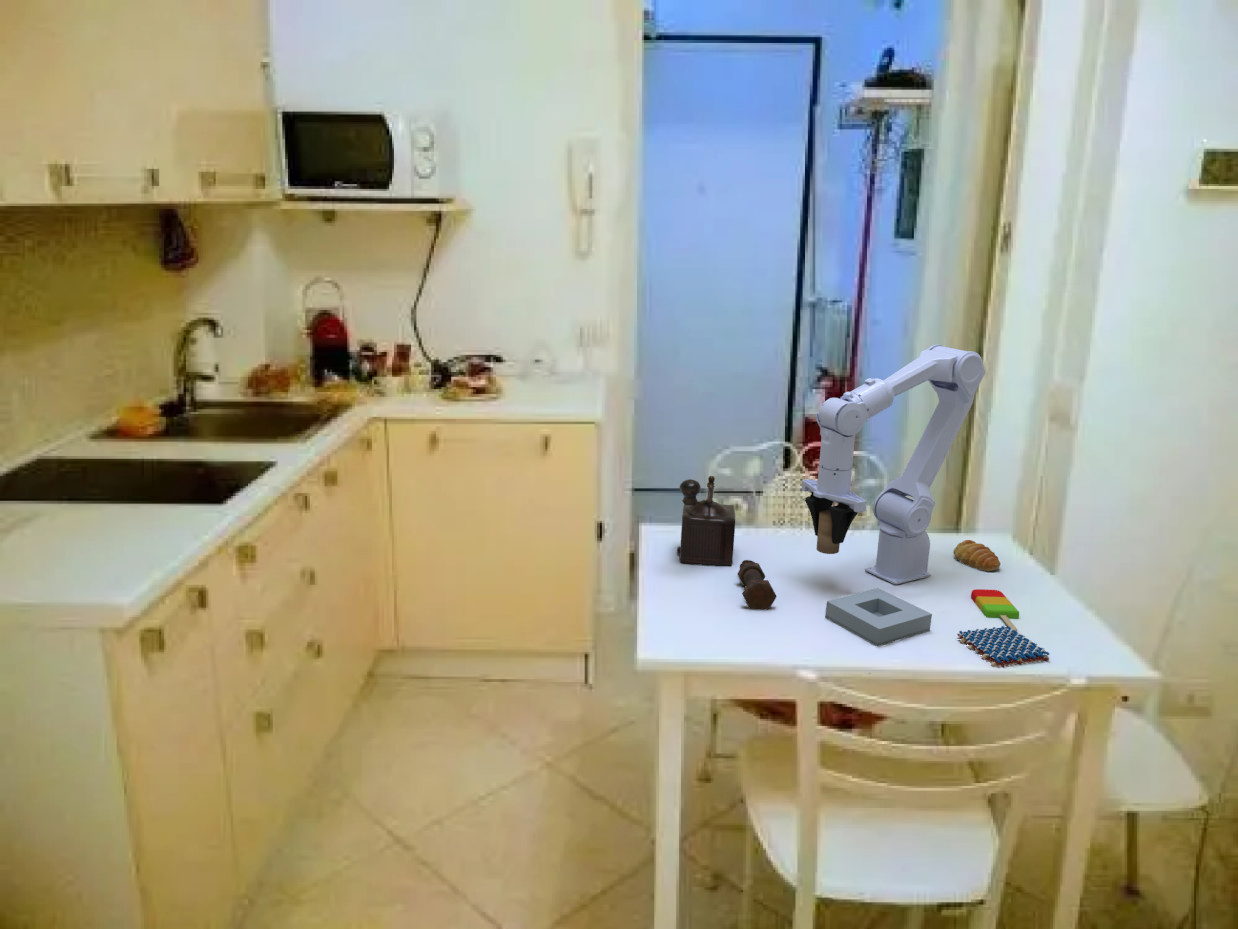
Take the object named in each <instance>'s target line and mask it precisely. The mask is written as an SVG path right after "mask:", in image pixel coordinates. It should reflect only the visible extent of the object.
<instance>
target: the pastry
mask: <svg viewBox="0 0 1238 929" xmlns="http://www.w3.org/2000/svg"><path fill="white" fill-rule="evenodd" d="M952 553H953V556H954V557H955V559H956V561H959V562H960V563H961V564H963V565H965V566H968V567H970V568H973V569H975V570H978V571H985V572H992V571H997V570H999V568H1000V566H1001V562H1000V560H999V557H998V556H997V555H996V554H995V552H994V551H992V550H991V548H989V547H988V546H985V544H983V543H979V542H978V543H976V540H975V541H974V540H972V539H965V540H962V541H961V542H959V543H958V544H957V545H956V547H955V548H954V549H953V552H952Z"/></svg>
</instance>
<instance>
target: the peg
mask: <svg viewBox="0 0 1238 929" xmlns="http://www.w3.org/2000/svg"><path fill="white" fill-rule="evenodd" d="M816 537H817V538H816V539H817V540H816V551H817V552H818V553H822V554H825V555H835V554H838V553H839V552H840V544H841V543H839V544H834V543H832V519H831V514H830V511H829V510H822V511H820V513H819V525H818V536H816Z"/></svg>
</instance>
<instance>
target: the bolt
mask: <svg viewBox="0 0 1238 929" xmlns="http://www.w3.org/2000/svg"><path fill="white" fill-rule="evenodd" d="M737 576H738V579H739V580H740V582H741V584H742V585H743V587H744V590H743V591H742V593H741V594H742V596H743V599H744V601H745V603H746V604H747V606H748V608H749V609H751V610H755V611H762V610H763V611H764V610H765V611H766V610H769V609H770V607H772V605H773V604H774V602H775V600H776V599H777V596H778V595H777V594H776V592H775V590H774V589H773V587H772V585H771V583H770V581H769V580H768V579H765V578H766V575H765V573H764V571H763V569H762V567H761V565H760V564H759V562H755V561H754V560H751V559H750V560H749V559H746V560H745V559H744V560H742V561H741V563H740V564H739V569H738V572H737Z"/></svg>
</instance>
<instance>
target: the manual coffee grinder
mask: <svg viewBox="0 0 1238 929" xmlns="http://www.w3.org/2000/svg"><path fill="white" fill-rule="evenodd" d="M707 479H708V482H707V484H706V487H707V498H706V499H702V500H699V501H698V499H697V495H698V494H699V493H700V492H701V484H700V483H699V481H697V480H695V479H686V480H683V481H682V482H681V483H680V484H679V490H680V492H681V494H682V495H683V498H682V503H683V507H682V508H683V509H682V514H681V530H680V531H681V532H680V546H677V548H676V549H677V550H676V552H677V553H678V555H679V556H678V557H679V561H680V563H681V564H689V565H694V564H702V565H701V566H709V565H715V566H714V567H732V565H733V563H734V561H733V557H734V556H733V555H734V547H735V546H734V544H735V533H736V532H735V530H736V511H735V508H734V506H735V505H734V504H721V503H719V502H718V501H715V500H713V498H714V494H715V492H714V490H715V479H716V477H715V476H714V475H709V476H708V478H707Z"/></svg>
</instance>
